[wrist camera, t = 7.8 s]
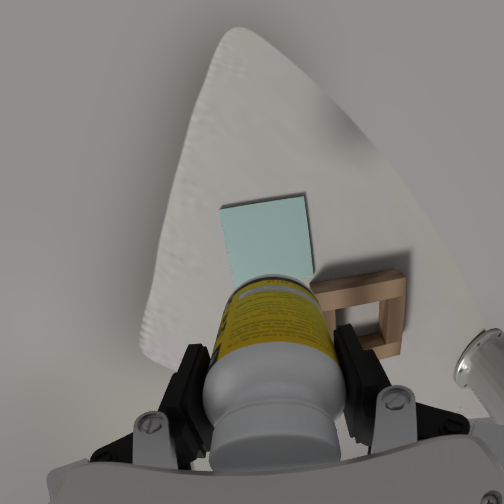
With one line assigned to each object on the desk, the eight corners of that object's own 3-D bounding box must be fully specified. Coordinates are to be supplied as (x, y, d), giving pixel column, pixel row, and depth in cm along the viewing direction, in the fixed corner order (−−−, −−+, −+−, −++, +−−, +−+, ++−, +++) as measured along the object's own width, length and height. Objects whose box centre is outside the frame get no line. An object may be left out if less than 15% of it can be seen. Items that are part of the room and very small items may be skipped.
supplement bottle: (216, 276, 15) (160, 415, 6) (317, 265, 15) (382, 398, 6) (231, 357, 17) (209, 498, 7) (320, 348, 16) (354, 488, 7)
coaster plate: (303, 196, 30) (303, 196, 29) (312, 274, 32) (313, 276, 32) (219, 209, 31) (219, 209, 30) (235, 286, 33) (234, 288, 33)
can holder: (395, 268, 32) (406, 277, 29) (392, 342, 35) (399, 354, 32) (309, 283, 33) (313, 294, 30) (315, 358, 36) (319, 372, 33)
